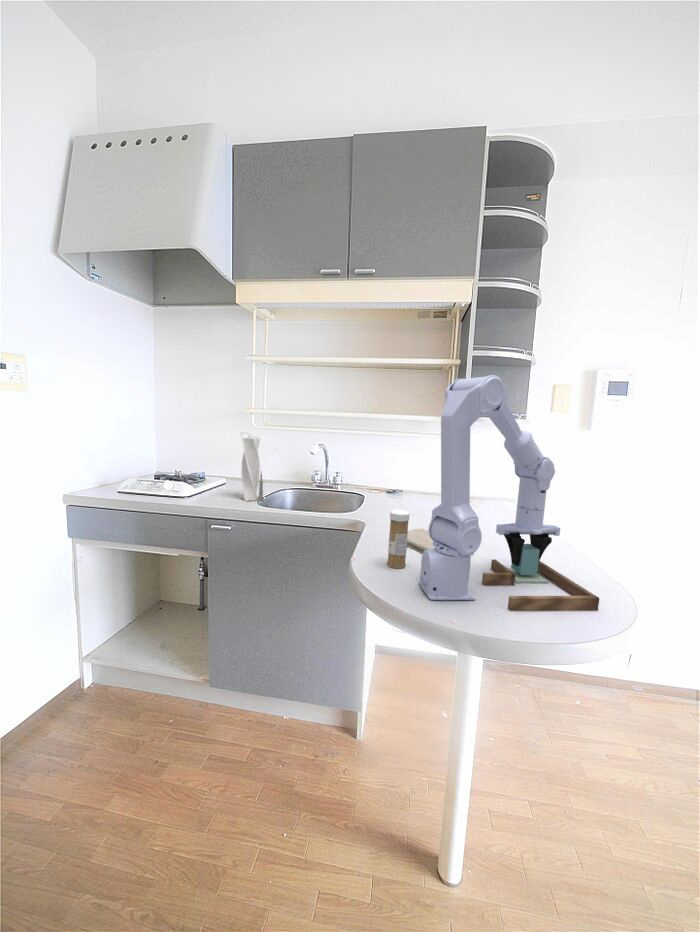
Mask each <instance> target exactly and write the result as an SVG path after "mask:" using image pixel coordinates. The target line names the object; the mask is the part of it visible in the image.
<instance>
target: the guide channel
mask: <svg viewBox="0 0 700 932" xmlns="http://www.w3.org/2000/svg"><path fill="white" fill-rule="evenodd" d="M490 563H491V564H490V570H491V571H492V572H482V581H481V584H482V585H483V586H515V583H516V582H515V574H514V573H513V572H511V571H510V570H509V569H507V568H508V567H507V566H505V565H503V564H502V563H501V562H500V561H498V560H497V559H491V562H490ZM537 574H538V575H540V576H541V577H543V578H544V579H546V580H547V581H549V582H551V583H552V584H554V585H555V586H557V587H558V588H560V590H562V591H564V592H566V593H567V594H568V595H509V596H508V600H507V601H508V602H507V609H508V610H509V611H510V612H522V611H523V612H524V611H528V612H529V611H530V612H535V611H536V612H537V611H538V612H540V611H542V612H544V611H546V612H547V611H550V612H551V611H562V612H563V611H598V610H599V607H600V606H599V604H600V597H599V596H597V595H595V594H594V593H592V592H590V591H589V590H587V589H586V588H585V587H582V586H581V585H579V584H578V583H576V582H575V581H573V580H572V579H570V578H568V577H566V576H565V575H563V574H562V573H560V572H558V571H557V570H555V569H554V568H552V567H550V566H549V565H547V564H546V563H544V562H542V561H541V560H540V561H539V563H538V569H537Z"/></svg>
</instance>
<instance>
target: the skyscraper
mask: <svg viewBox="0 0 700 932" xmlns="http://www.w3.org/2000/svg"><path fill="white" fill-rule="evenodd" d="M243 434H246V435H247V437H244V436H243ZM240 436H241V441H242V447H243V455H242V458H241V459H242V460H241V482H242V483H241V485H242V490H243V495H242V497H241V500H243V501H245V502H246V503H253V502H255V503H256V502H264V501H265V500H264V497H263V496H264V494H263V493H264V490H263V489H264V487H263V486H264V481H263V474H262V471H263V470H261V463H260V455H259V451H258V450H259V446H260V442H261V441H260V440H261V437H259V436H256V435H253V434H251V433H250V432H246V431H242V432H240ZM258 488H259V489H258ZM257 491H258V492H257ZM257 493H258V494H257Z"/></svg>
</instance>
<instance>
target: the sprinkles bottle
mask: <svg viewBox="0 0 700 932" xmlns="http://www.w3.org/2000/svg"><path fill="white" fill-rule="evenodd" d="M389 519H390V525H389V537H388V554H387V561H386V565H387V566H388V567H390V568H393V569H403V568H405V567H406V559H407V555H406V554H407V536H408V531H409V529H408V528H409V521H410V512H409V511H407V510H404V509H392V510H391V511H390V512H389Z"/></svg>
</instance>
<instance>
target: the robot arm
mask: <svg viewBox="0 0 700 932" xmlns="http://www.w3.org/2000/svg"><path fill="white" fill-rule="evenodd" d="M508 392H509V391H508V389H507V388H506V387H505V385H504V382H503V380H502V379H501V378H500V376H498V375H496V374H495V375H493V374H490V375H487V376H478V377H471V378H470V377H468V378H457V379H454V380H453V381H452V383H450V385H448V387H447V388H445V400H444V401H445V403H444V406H443V410H442V413H441V415H440V416H441V418H440V500H441V501H440V504H438V506H436V507H434V508H433V509H432V511H431V519H430V522H429V523H428V531H429V536H430V538H431V539H432V540H433V546H434V547H435V548H433V549H430V550H424V551H423V554H422V553H421V555H422V556H421V560H420V561H421V562H420V577H419V581H418V584H419V586H420V588H421V589H422V590H423V593H424V594H425V595H426V597H427V599H428V600H430V601H475V600H476V596H475V595H474V594H473V593H472V592H471V590H469V580H470V571H471V570H470V569H471V559H472V556H474V555H475V553H476V552H477V551H478V549H479V547H480V546H481V543H482V537H483V536H482V534H483V533H482V530H481V528H480V526H479V525H480V524H479V516H478V515H477V513H476V512H475V510H474V509H473V508H472V506H471V505H470V502H471V501H470V500H471V499H470V498H471V497H470V495H471V492H470V491H471V488H470V487H471V485H470V484H471V481H470V479H471V426H473V425H474V423H475V422H476V421H477V420H479V419H481V418H482V417H483V416H487V417H488V418H489V420H490V421H491V423H493V425H494V426H495V427H496V428H497V430H498V431H499V432H500V434H501V435H502V436H503V437H504V438H505V440H504V443H503V447H504V449H505V450H506V451H507V453H508V455H509V456H510V457H511V459H512V460H513V465H514V473H515V476H517V477H518V478H519V483H518V484H519V485H518V493H517V502H516V503H517V504H516V513H515V522H512V523H503V524H502V523H501V524H496V528H495V533H496V534H497V535H499V536H504V538H505V541H506V543H507V546H508V550H509V554H510V561H511V564H512V563H513V564H514V565H515V566H519V563H520V557H521V551H522V547H523V544H525V542H526V539H524V538H522V535H529V540H530V541H529V542H530V543H529V544H531V545H533V546H534V547H536V548H538V549H540V552H539V560H538V563H539V561H541V558H542V557H543V554H544V552H545V550H547V548H548V547H549V545H550V544H552V541H553V538H552V537H551V536H556V537H560V533H561V527H560V526H556V525H550V524H544V516H545V508H546V498H547V492H548V490H549V488H550V486H551V481H552V480H553V479H554V476H555V473H556V469H555V464H554V462H553V460H551V459H550V458H549V457H547V456H544V454H543V453H542V451H541V450H540V448H539V446H538V445H537V443H536V441H535V440H534V439H533V434H531V432H528V431H526V430H522V429H521V428H520V425H519V424H518V422H517V420H516V418H515V416H514V414H513V412H512V409H511V408H510V405H509V403H508V402H507V399H508Z"/></svg>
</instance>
